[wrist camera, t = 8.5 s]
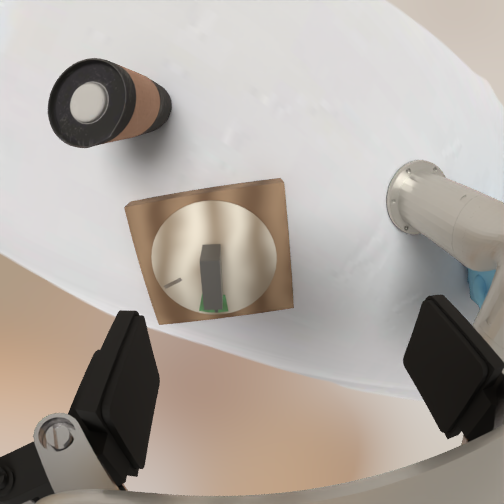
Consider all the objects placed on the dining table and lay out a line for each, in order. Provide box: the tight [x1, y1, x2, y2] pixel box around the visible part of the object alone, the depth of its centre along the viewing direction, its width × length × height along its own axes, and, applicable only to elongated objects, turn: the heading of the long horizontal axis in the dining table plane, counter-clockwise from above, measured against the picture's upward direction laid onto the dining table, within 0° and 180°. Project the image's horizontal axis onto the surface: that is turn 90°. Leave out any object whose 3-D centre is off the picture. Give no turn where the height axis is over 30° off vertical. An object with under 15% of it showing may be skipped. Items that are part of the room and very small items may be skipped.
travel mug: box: [48, 58, 171, 148], centre depth 28 cm, size 8×8×20 cm
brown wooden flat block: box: [124, 178, 294, 325], centre depth 45 cm, size 22×20×4 cm
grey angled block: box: [200, 244, 223, 313], centre depth 42 cm, size 12×2×6 cm, turn 0°
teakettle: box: [467, 268, 496, 309], centre depth 45 cm, size 19×19×15 cm
